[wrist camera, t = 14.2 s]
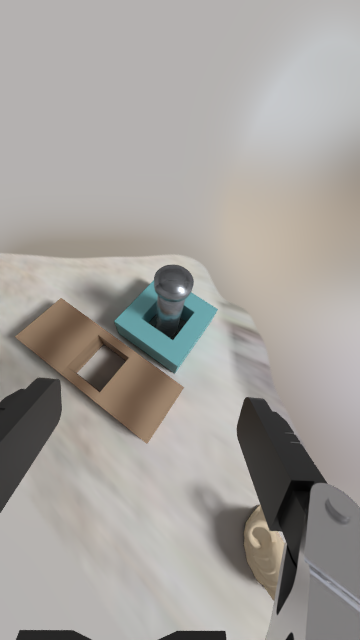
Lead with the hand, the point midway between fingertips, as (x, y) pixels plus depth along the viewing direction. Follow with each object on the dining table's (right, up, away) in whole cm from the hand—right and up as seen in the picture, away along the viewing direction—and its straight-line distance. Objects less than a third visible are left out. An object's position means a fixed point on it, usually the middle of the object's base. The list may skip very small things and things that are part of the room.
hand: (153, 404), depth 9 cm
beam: (-9, -3, +19) cm, 22 cm away
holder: (-1, +3, +23) cm, 23 cm away
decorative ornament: (+10, -20, +14) cm, 26 cm away
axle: (-1, +2, +23) cm, 23 cm away
